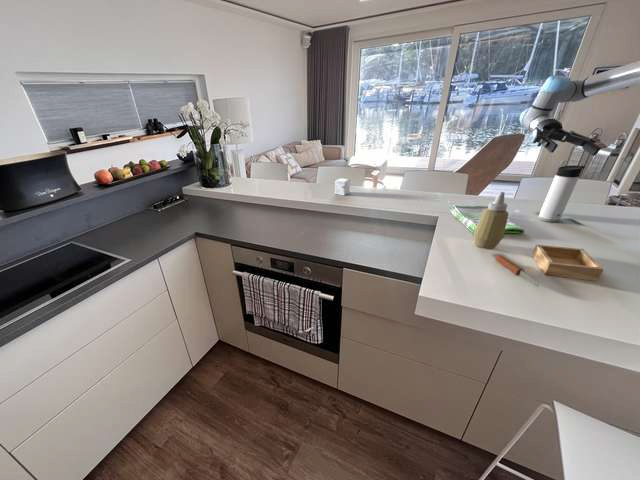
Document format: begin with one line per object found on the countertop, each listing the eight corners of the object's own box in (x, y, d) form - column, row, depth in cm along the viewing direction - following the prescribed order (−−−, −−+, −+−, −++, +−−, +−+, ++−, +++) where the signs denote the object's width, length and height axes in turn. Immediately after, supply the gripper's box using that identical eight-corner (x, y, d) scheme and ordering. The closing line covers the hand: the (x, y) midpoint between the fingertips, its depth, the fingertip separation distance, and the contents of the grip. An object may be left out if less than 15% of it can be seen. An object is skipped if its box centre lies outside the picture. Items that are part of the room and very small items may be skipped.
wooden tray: (531, 254, 89) (535, 244, 87) (577, 259, 85) (583, 248, 83) (544, 274, 79) (549, 263, 77) (597, 281, 75) (603, 269, 73)
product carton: (334, 194, 157) (334, 180, 153) (340, 191, 161) (340, 177, 157) (344, 195, 153) (345, 181, 150) (349, 192, 157) (350, 179, 154)
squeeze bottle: (494, 240, 98) (512, 188, 89) (503, 251, 92) (523, 196, 82) (468, 239, 100) (482, 188, 91) (474, 249, 94) (491, 196, 85)
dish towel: (491, 211, 120) (494, 203, 119) (525, 234, 101) (529, 224, 99) (448, 212, 123) (450, 204, 121) (472, 234, 103) (475, 225, 101)
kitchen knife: (494, 260, 87) (496, 254, 86) (498, 260, 87) (500, 254, 86) (535, 289, 74) (538, 283, 73) (540, 289, 74) (543, 283, 73)
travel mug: (561, 223, 106) (587, 168, 96) (538, 221, 109) (561, 167, 99) (558, 217, 110) (582, 164, 100) (536, 215, 114) (558, 163, 104)
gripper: (572, 140, 116) (605, 163, 101) (507, 135, 119) (530, 157, 104) (587, 120, 111) (624, 142, 96) (518, 116, 113) (544, 136, 98)
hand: (575, 150), depth 100 cm, fingers open, 13 cm apart
